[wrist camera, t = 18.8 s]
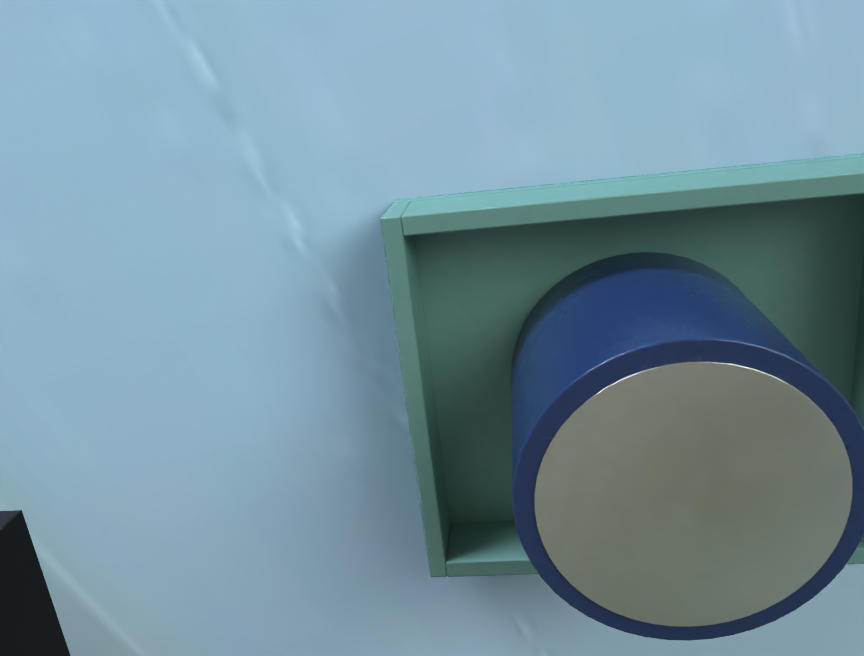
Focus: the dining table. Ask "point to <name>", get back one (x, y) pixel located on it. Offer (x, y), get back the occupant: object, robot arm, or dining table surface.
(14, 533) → the robot arm
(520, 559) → the tray
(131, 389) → the dining table surface
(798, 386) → the pot
